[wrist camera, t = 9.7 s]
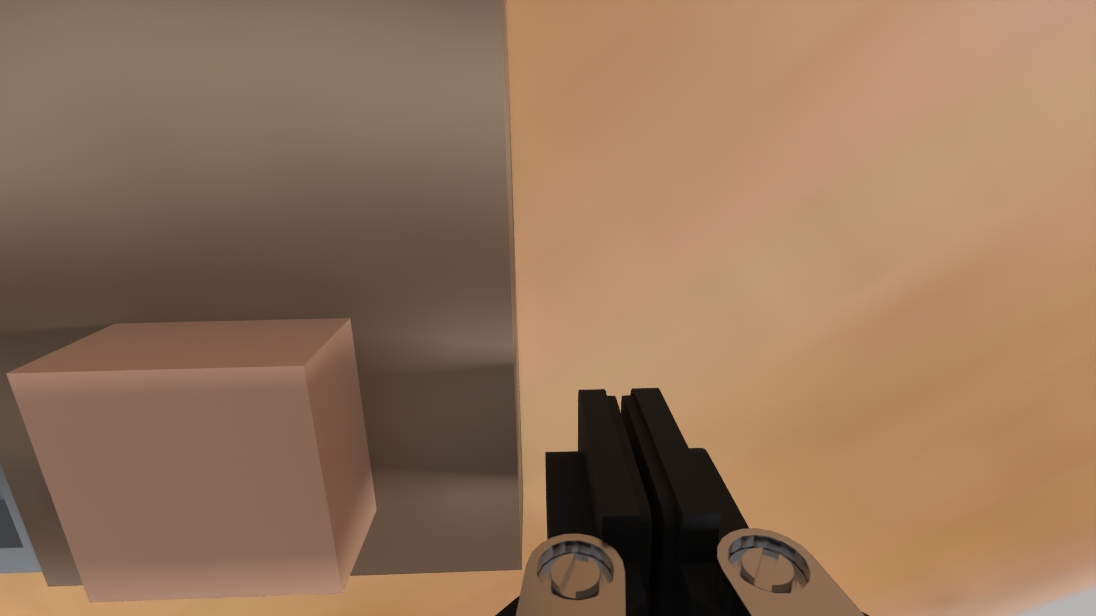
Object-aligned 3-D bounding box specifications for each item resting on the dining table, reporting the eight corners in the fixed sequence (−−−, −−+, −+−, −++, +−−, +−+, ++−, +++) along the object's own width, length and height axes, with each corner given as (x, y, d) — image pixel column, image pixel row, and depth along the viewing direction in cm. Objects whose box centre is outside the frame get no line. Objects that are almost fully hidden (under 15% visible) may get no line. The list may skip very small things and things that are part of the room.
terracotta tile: (115, 323, 11) (6, 373, 9) (350, 318, 12) (303, 365, 9) (170, 516, 13) (89, 602, 11) (376, 510, 13) (342, 592, 11)
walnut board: (-80, -175, 11) (-290, -281, 8) (499, -175, 11) (489, -278, 9) (131, 507, 16) (48, 586, 14) (523, 495, 17) (521, 569, 14)
